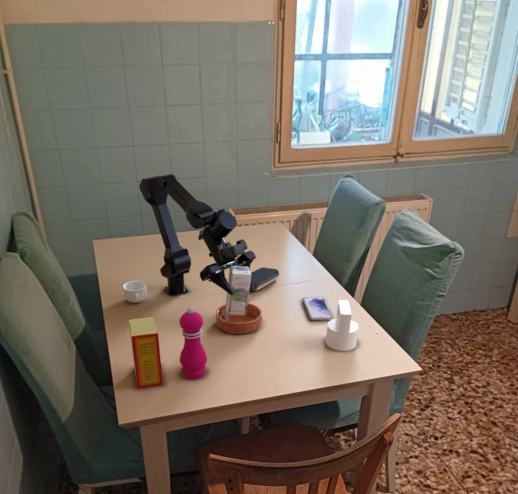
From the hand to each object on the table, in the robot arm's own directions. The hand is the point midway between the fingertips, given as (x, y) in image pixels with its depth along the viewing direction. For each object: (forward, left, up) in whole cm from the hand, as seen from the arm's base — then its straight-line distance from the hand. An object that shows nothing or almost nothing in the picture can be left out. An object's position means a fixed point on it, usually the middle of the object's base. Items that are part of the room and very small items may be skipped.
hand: (241, 290), depth 171 cm
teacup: (-30, -24, -12) cm, 41 cm away
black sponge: (-24, +19, -12) cm, 33 cm away
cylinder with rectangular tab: (+23, +22, -12) cm, 34 cm away
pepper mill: (+18, -23, -12) cm, 32 cm away
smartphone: (+2, +27, -12) cm, 29 cm away
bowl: (-1, 0, -12) cm, 12 cm away
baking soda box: (+14, -35, -12) cm, 40 cm away
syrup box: (-2, -1, -8) cm, 9 cm away
